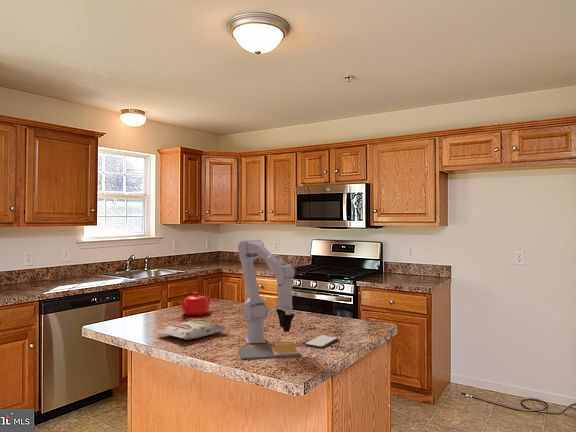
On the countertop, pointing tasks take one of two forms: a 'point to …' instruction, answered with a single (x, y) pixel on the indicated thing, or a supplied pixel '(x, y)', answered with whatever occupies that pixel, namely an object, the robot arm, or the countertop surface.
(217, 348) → the countertop surface
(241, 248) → the robot arm
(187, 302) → the teapot
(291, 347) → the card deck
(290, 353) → the mat
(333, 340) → the phone case
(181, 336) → the frozen beans
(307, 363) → the countertop surface
